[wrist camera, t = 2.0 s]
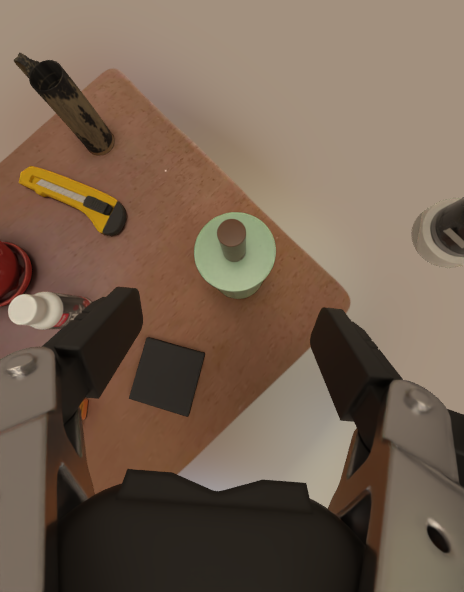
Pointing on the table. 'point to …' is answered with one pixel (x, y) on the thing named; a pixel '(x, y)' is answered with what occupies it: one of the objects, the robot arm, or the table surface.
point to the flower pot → (13, 272)
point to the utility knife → (77, 198)
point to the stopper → (235, 252)
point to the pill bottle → (46, 309)
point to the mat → (167, 376)
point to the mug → (67, 103)
